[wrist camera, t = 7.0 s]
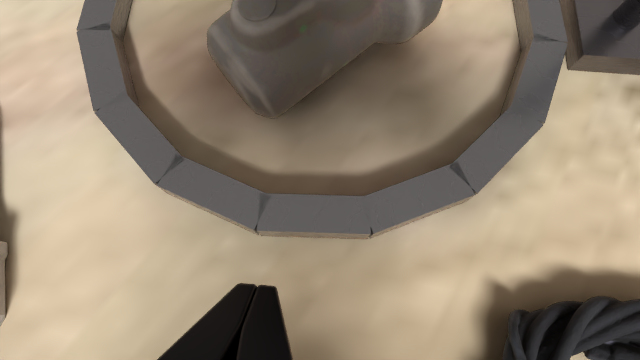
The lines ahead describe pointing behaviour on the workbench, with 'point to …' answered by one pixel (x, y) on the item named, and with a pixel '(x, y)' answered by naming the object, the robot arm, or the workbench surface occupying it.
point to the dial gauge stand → (602, 35)
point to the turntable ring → (322, 210)
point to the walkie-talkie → (2, 279)
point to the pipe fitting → (304, 43)
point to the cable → (576, 331)
